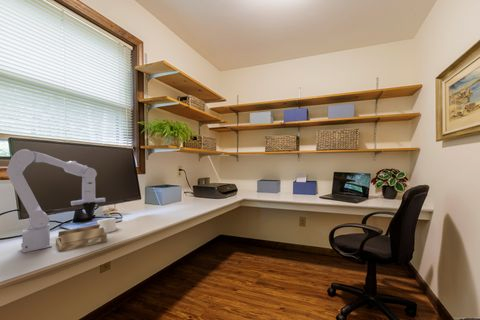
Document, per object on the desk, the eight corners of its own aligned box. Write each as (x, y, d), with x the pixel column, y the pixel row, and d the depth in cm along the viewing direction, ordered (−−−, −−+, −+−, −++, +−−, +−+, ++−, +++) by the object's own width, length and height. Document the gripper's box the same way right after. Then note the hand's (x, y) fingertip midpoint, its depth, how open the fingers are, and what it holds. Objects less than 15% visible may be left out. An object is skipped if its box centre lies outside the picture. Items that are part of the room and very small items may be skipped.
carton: (58, 252, 97) (58, 245, 97) (55, 244, 106) (55, 237, 106) (107, 241, 110) (107, 234, 110) (100, 235, 119) (100, 228, 119)
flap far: (58, 232, 105) (58, 231, 105) (58, 237, 107) (58, 236, 107) (99, 224, 116) (99, 224, 116) (98, 229, 118) (98, 228, 118)
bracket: (111, 229, 133) (110, 217, 133) (119, 229, 128) (118, 217, 129) (71, 239, 116) (70, 226, 117) (78, 240, 111) (77, 226, 112)
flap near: (61, 244, 98) (61, 243, 98) (60, 235, 100) (60, 235, 100) (104, 234, 109) (104, 234, 109) (103, 227, 111) (103, 227, 111)
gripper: (72, 193, 107) (72, 221, 107) (106, 190, 117) (107, 216, 117) (70, 191, 112) (70, 219, 112) (103, 189, 122) (103, 214, 122)
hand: (88, 217), depth 115 cm, fingers closed
